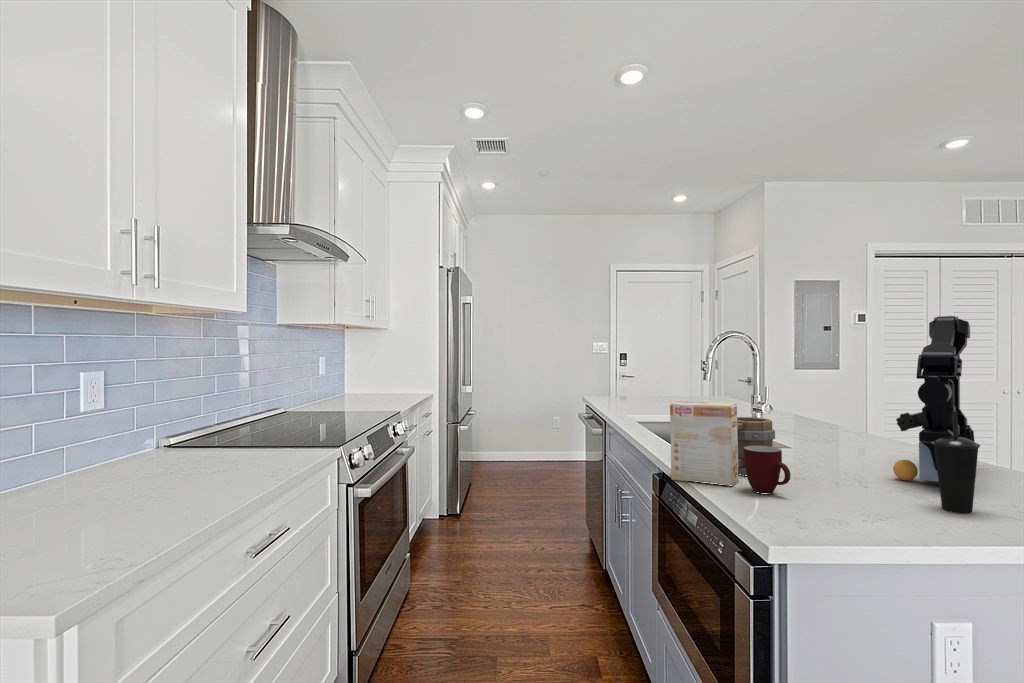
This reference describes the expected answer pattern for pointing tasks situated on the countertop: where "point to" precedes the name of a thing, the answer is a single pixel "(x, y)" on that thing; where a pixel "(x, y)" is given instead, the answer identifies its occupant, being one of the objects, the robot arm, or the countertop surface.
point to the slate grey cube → (926, 464)
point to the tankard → (752, 436)
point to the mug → (764, 468)
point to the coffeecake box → (704, 442)
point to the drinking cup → (956, 470)
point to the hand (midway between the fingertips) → (940, 468)
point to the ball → (905, 470)
